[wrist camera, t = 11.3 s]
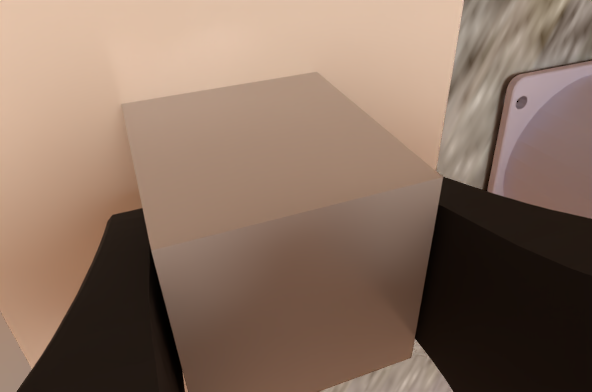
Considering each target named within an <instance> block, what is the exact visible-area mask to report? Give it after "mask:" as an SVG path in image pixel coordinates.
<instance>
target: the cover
mask: <svg viewBox="0 0 592 392" xmlns="http://www.w3.org/2000/svg"><path fill="white" fill-rule="evenodd" d="M463 3H464V0H0V312H1V314H2V315H3V317H4V319H5V321H6V322H7V324H8V326H9V328H10V330H11V332H12V333H13V335H14V337H15V339H16V341H17V343H18V344H19V346H20V348H21V350H22V352H23V354H24V355H25V357H26V359H27V361H28V363H29V364H30V366H31V368H32V369H33V367H34V366H35V364H36V363H37V361H38V360H39V358H40V357H41V355H42V353H43V352H44V350H45V349H46V347H47V345H48V344H49V342H50V341H51V339H52V337H53V336H54V334H55V332H56V330H57V329H58V327H59V325H60V323H61V322H62V320H63V318H64V316H65V315H66V313H67V311H68V309H69V307H70V306H71V304H72V302H73V300H74V298H75V297H76V295H77V293H78V291H79V289H80V287H81V284H82V282H83V280H84V278H85V276H86V274H87V272H88V270H89V268H90V266H91V263H92V261H93V259H94V256H95V254H96V252H97V249H98V247H99V244H100V242H101V239H102V236H103V233H104V231H105V228H106V224H107V221H108V220H109V219H110V217H111V216H112V215H114V214H118V213H123V212H127V211H131V210H136V209H140V208H143V213H144V218H145V223H146V228H147V233H148V237H149V242H150V247H151V252H152V256H153V259H154V263H155V267H156V271H157V275H158V279H159V282H160V286H161V290H162V294H163V298H164V301H165V305H166V309H167V313H168V317H169V321H170V324H171V328H172V332H173V336H174V340H175V344H176V347H177V351H178V355H179V359H180V363H181V366H182V370H183V374H184V378H185V381H186V386H187V389H188V392H319V391H321V390H324V389H327V388H330V387H332V386H335V385H338V384H341V383H343V382H346V381H349V380H351V379H354V378H357V377H360V376H362V375H365V374H368V373H370V372H373V371H376V370H379V369H381V368H384V367H387V366H390V365H392V364H395V363H398V362H400V361H403V360H406V359H409V358H411V356H412V351H413V345H414V339H415V334H416V328H417V322H418V317H419V311H420V305H421V300H422V294H423V288H424V283H425V277H426V271H427V266H428V260H429V254H430V249H431V243H432V237H433V232H434V226H435V220H436V215H437V209H438V203H439V198H440V192H441V186H442V181H443V177H442V176H441V175H440V174H439V173H438V172H436V167H437V161H438V155H439V149H440V143H441V137H442V131H443V124H444V118H445V112H446V106H447V100H448V94H449V88H450V82H451V76H452V70H453V64H454V58H455V52H456V45H457V39H458V33H459V27H460V21H461V15H462V9H463Z"/></svg>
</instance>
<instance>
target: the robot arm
mask: <svg viewBox="0 0 592 392" xmlns="http://www.w3.org/2000/svg"><path fill="white" fill-rule="evenodd" d="M519 98H520V99H519ZM518 99H519V101H518V102H517V100H518ZM516 102H517V104H516ZM415 339H416V340H417V341H418V343H419V344H420V345H421V347H422V348H423V349H424V350H425V352H426V353H427V354H428V356H429V357H430V358H431V359H432V361H433V362H434V364H435V365H436V366H437V368H438V369H439V371H440V372H441V373H442V375H443V376H444V378H445V379H446V381H447V382H448V384H449V385H450V387H451V389H452V390H453V392H592V61H587V62H582V63H577V64H572V65H566V66H561V67H556V68H550V69H545V70H540V71H535V72H529V73H524V74H520V75H517V76H515V77H514V78H513V79H512V80H511V81H510V83H509V85H508V87H507V91H506V97H505V102H504V107H503V112H502V117H501V122H500V128H499V133H498V138H497V143H496V148H495V153H494V158H493V164H492V169H491V174H490V179H489V184H488V189H487V191H484V190H481V189H478V188H475V187H472V186H469V185H466V184H463V183H460V182H457V181H454V180H451V179H448V178H445V177H443V181H442V186H441V192H440V198H439V203H438V209H437V215H436V220H435V226H434V232H433V237H432V243H431V249H430V254H429V260H428V266H427V271H426V277H425V283H424V288H423V294H422V300H421V305H420V311H419V317H418V322H417V328H416V334H415ZM17 392H185V389H184V380H183V371H182V366H181V363H180V359H179V355H178V351H177V347H176V344H175V340H174V336H173V332H172V328H171V324H170V321H169V317H168V313H167V309H166V305H165V301H164V298H163V294H162V290H161V286H160V282H159V279H158V275H157V271H156V267H155V263H154V259H153V256H152V252H151V247H150V242H149V237H148V233H147V228H146V223H145V218H144V213H143V208H140V209H136V210H131V211H127V212H123V213H118V214H114V215H112V216H111V217H110V219H109V220H108V221H107V224H106V228H105V231H104V233H103V236H102V239H101V242H100V244H99V247H98V249H97V252H96V254H95V256H94V259H93V261H92V263H91V266H90V268H89V270H88V272H87V274H86V276H85V278H84V280H83V282H82V284H81V287H80V289H79V291H78V293H77V295H76V297H75V298H74V300H73V302H72V304H71V306H70V307H69V309H68V311H67V313H66V315H65V316H64V318H63V320H62V322H61V323H60V325H59V327H58V329H57V330H56V332H55V334H54V336H53V337H52V339H51V341H50V342H49V344H48V345H47V347H46V349H45V350H44V352H43V353H42V355H41V357H40V358H39V360H38V361H37V363H36V364H35V366H34V367H33V369H32V370H31V372H30V373H29V375H28V376H27V377H26V379H25V380H24V382H23V383H22V385H21V386H20V388H19V389H18V390H17Z"/></svg>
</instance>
